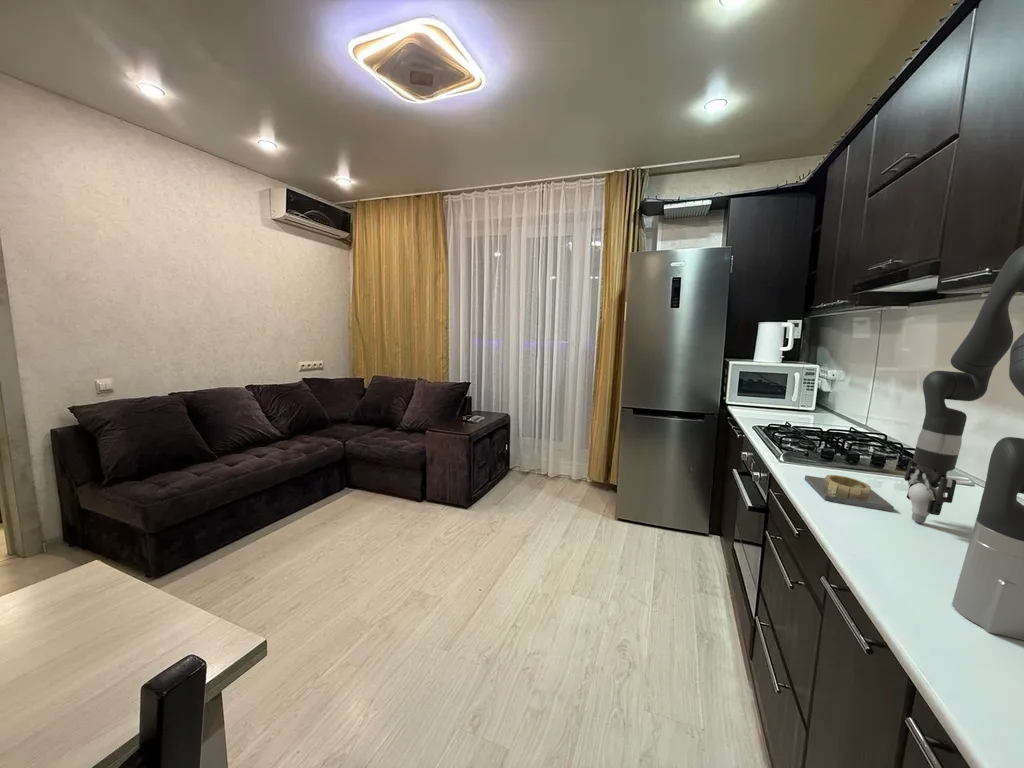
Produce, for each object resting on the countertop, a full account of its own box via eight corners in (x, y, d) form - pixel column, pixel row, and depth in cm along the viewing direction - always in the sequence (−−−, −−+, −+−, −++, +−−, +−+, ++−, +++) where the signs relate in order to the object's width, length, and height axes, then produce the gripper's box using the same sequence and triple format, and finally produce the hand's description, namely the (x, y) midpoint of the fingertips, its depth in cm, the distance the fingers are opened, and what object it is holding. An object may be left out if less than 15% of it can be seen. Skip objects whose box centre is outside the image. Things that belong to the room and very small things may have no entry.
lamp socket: (892, 511, 110) (895, 498, 109) (824, 500, 115) (827, 487, 114) (863, 488, 125) (866, 476, 124) (804, 479, 130) (806, 468, 129)
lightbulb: (940, 530, 101) (951, 490, 99) (913, 526, 102) (923, 487, 100) (921, 518, 107) (931, 480, 105) (895, 515, 108) (904, 478, 106)
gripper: (978, 460, 93) (960, 522, 96) (937, 442, 106) (922, 497, 109) (937, 455, 95) (921, 516, 98) (902, 438, 108) (889, 492, 111)
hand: (922, 506), depth 103 cm, fingers open, 8 cm apart
